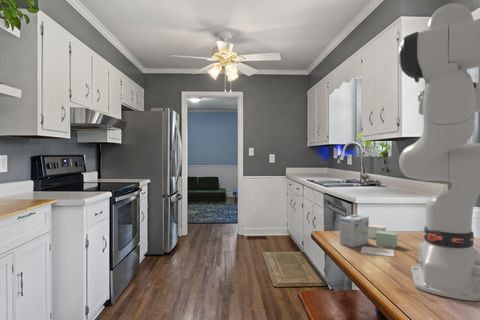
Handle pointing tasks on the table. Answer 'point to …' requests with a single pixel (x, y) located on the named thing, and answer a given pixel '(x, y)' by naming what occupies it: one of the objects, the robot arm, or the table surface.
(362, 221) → the light bulb box
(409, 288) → the table surface
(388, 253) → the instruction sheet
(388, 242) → the brick
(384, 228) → the brick
